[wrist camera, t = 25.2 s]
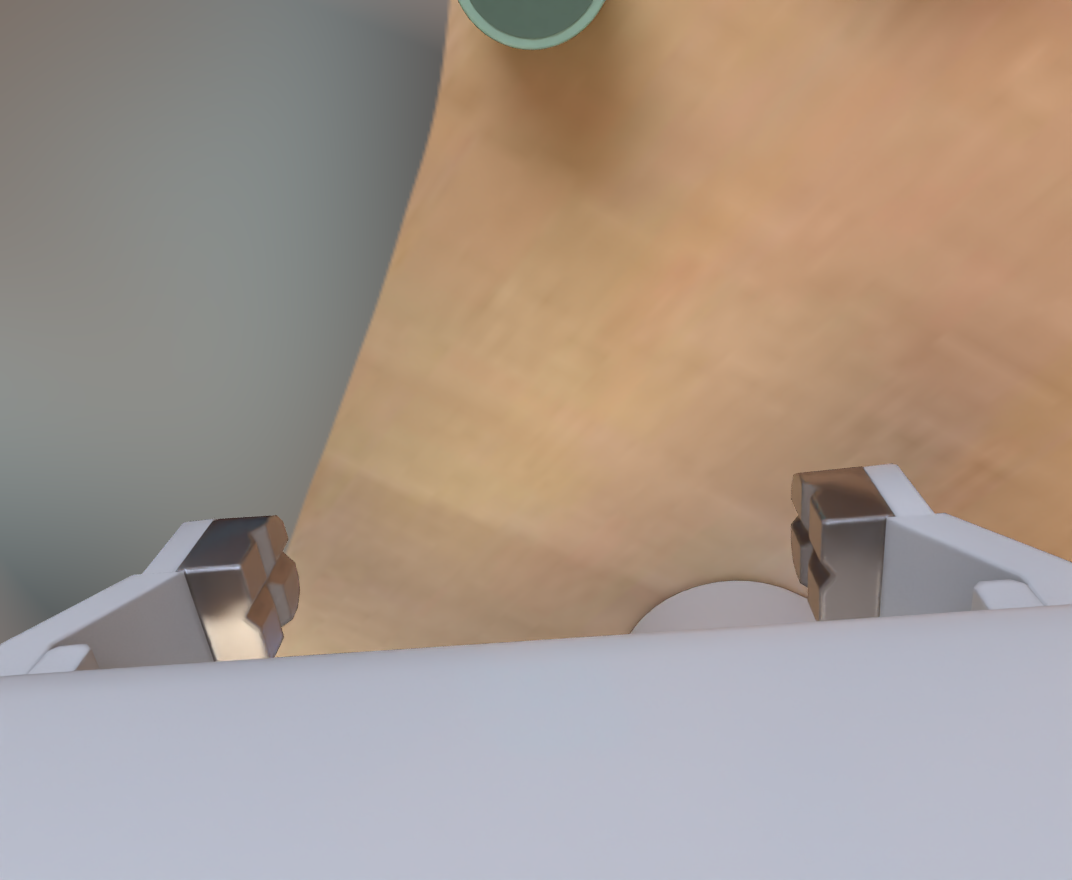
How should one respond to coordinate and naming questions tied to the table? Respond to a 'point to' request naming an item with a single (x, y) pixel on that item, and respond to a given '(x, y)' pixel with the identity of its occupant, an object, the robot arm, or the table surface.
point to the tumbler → (531, 20)
